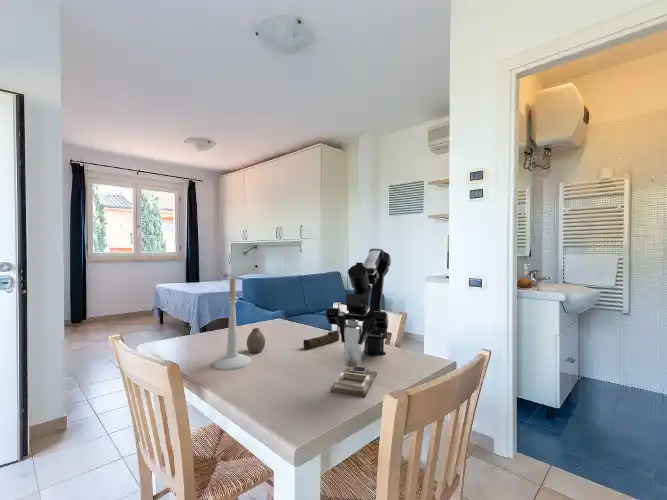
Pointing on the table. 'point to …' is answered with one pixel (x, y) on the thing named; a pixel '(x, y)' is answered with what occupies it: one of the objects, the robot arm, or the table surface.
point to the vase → (255, 341)
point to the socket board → (354, 381)
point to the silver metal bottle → (352, 344)
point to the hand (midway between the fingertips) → (351, 343)
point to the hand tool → (321, 340)
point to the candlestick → (232, 339)
